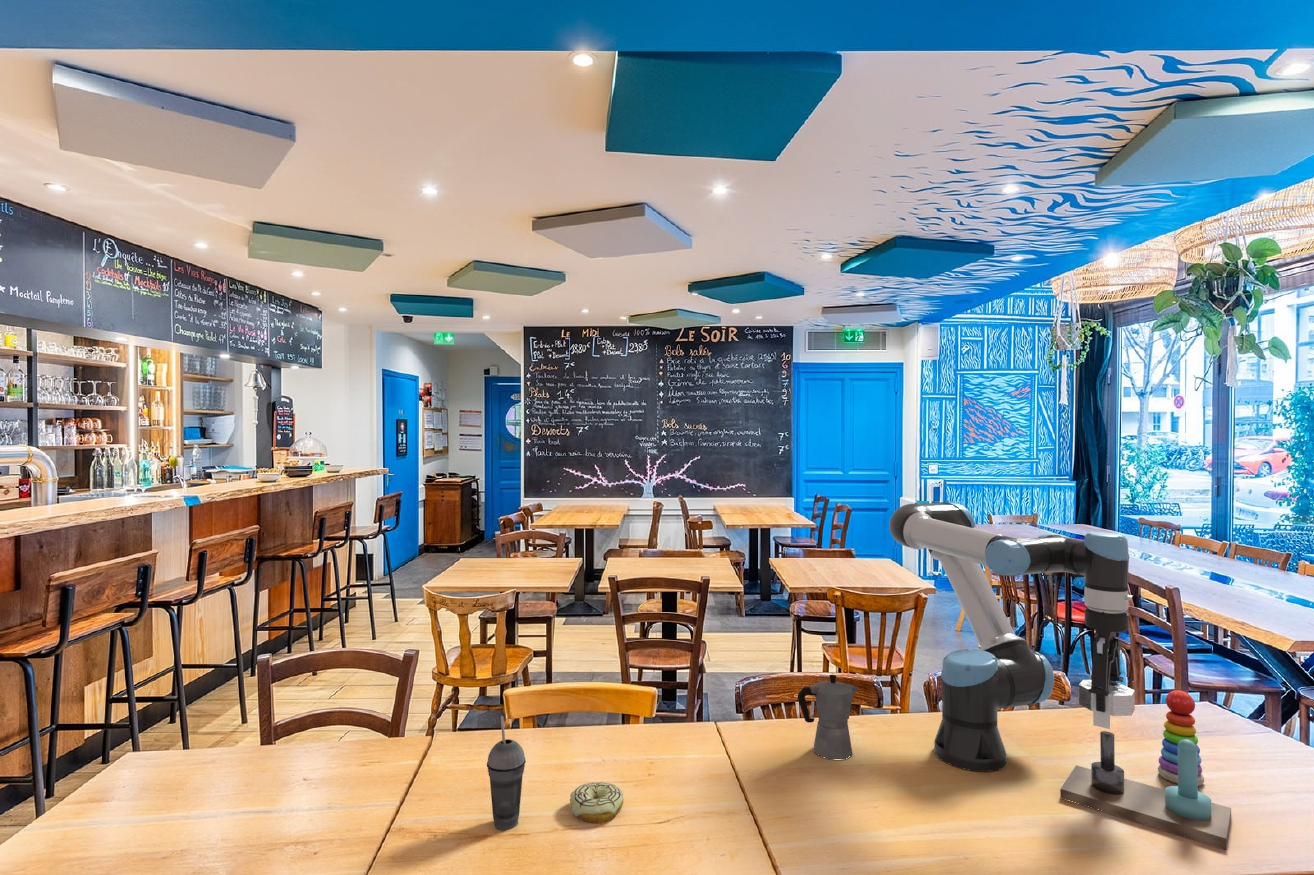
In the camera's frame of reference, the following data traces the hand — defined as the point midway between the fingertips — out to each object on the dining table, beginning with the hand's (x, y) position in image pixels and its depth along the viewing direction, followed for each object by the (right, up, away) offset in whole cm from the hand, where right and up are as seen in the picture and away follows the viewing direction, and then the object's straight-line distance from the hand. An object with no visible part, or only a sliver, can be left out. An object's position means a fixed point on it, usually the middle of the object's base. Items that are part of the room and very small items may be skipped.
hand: (1106, 719), depth 140 cm
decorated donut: (-104, -16, -5) cm, 105 cm away
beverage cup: (-121, -16, -10) cm, 122 cm away
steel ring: (0, +3, 0) cm, 3 cm away
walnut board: (+4, -16, -4) cm, 17 cm away
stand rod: (0, -14, 0) cm, 14 cm away
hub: (+10, -14, -9) cm, 19 cm away
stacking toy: (+21, -16, +8) cm, 28 cm away
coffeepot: (-52, -16, +20) cm, 58 cm away
